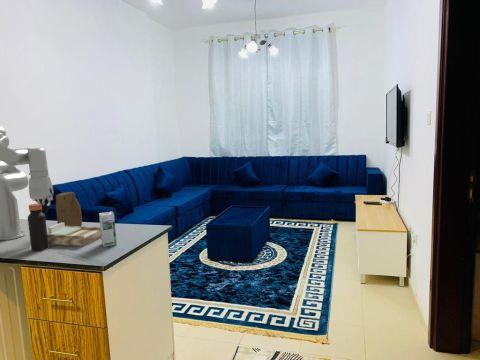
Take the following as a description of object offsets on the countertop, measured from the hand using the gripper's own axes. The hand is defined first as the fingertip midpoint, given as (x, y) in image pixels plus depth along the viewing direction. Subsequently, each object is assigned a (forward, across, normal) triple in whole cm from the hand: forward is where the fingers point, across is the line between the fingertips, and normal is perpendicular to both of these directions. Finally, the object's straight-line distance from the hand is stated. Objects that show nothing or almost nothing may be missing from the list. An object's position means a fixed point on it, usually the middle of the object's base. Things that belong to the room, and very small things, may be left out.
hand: (44, 212), depth 176 cm
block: (+13, +1, +15) cm, 20 cm away
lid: (+10, +9, 0) cm, 13 cm away
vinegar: (+13, +7, -13) cm, 20 cm away
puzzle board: (+13, +14, 0) cm, 19 cm away
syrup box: (+14, +35, -3) cm, 38 cm away
